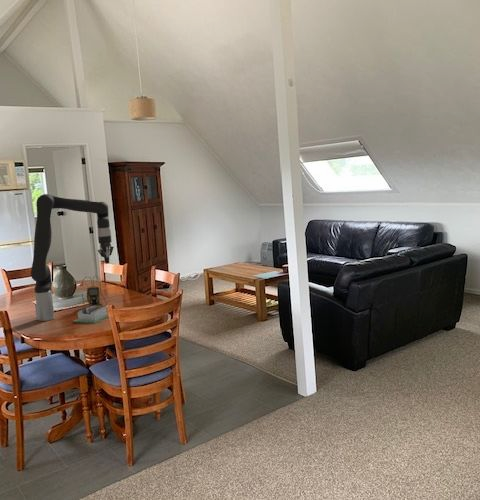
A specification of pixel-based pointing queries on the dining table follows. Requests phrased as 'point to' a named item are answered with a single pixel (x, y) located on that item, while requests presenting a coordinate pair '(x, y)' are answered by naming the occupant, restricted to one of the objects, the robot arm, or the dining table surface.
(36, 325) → the dining table surface
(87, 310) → the lever
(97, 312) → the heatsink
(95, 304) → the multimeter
